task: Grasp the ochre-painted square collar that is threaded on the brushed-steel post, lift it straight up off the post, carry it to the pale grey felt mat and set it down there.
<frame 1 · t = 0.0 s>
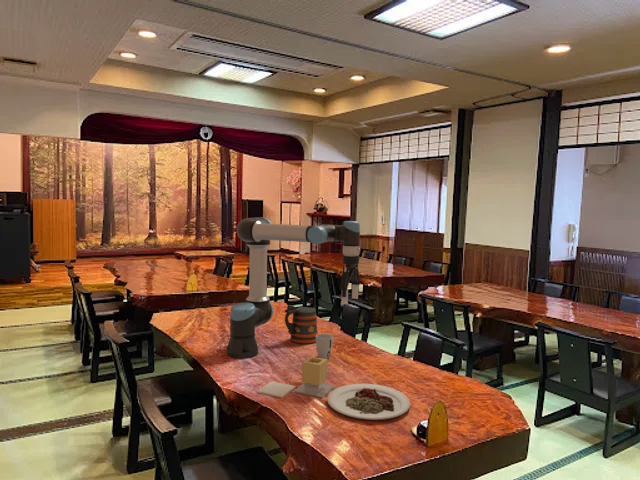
hand: (349, 301, 216), 28 cm above the table, fingers open, 13 cm apart
beer stein: (301, 341, 248), on the table
felt mat: (276, 390, 183), on the table
cup: (324, 357, 223), on the table
collar: (314, 380, 184), point 4 cm above the table, touching post stand
plated food: (368, 405, 172), on the table
post stand: (314, 389, 184), on the table
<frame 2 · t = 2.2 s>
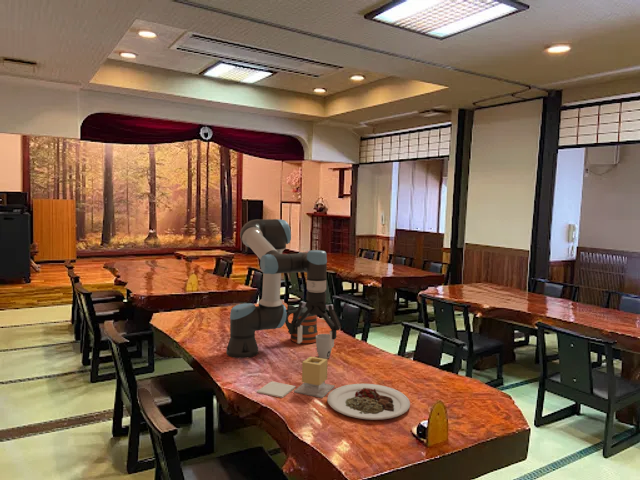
hand: (315, 344, 183), 18 cm above the table, fingers open, 13 cm apart
nothing on the table moved.
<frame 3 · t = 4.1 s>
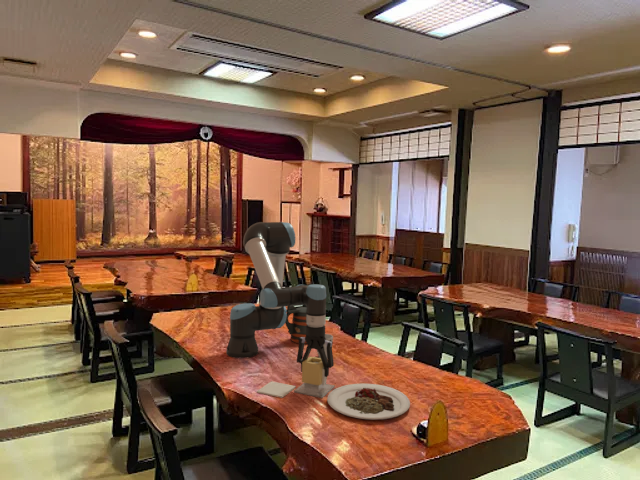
hand: (314, 382, 184), 3 cm above the table, fingers closed on collar, 7 cm apart
collar: (314, 380, 184), point 4 cm above the table, touching gripper, post stand
everything else where it was.
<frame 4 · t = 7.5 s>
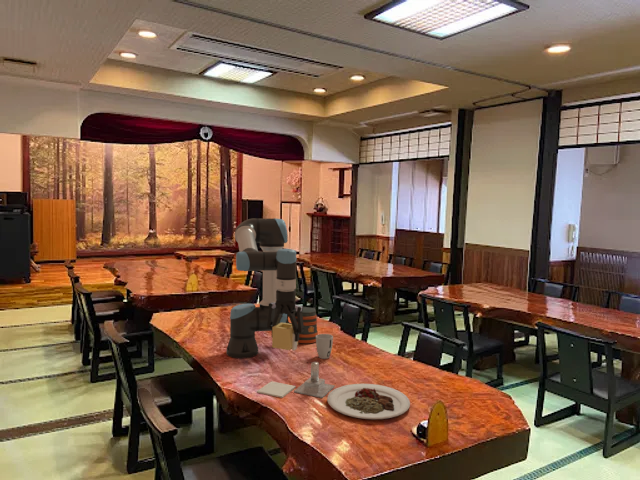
hand: (285, 347, 182), 17 cm above the table, fingers closed on collar, 7 cm apart
collar: (285, 346, 182), point 17 cm above the table, touching gripper
everything else where it was.
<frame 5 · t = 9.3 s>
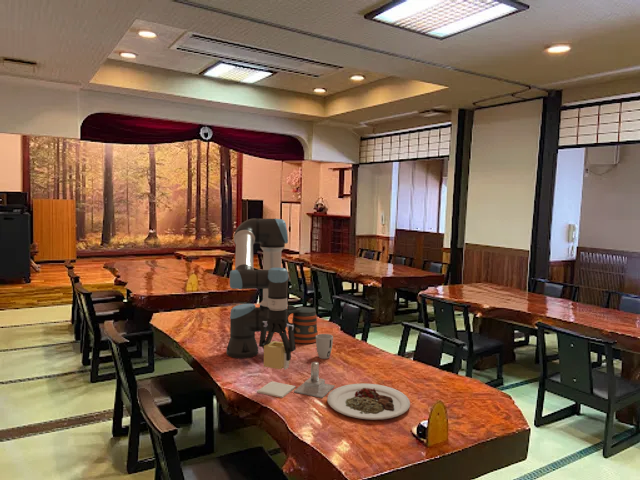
hand: (276, 366, 182), 9 cm above the table, fingers closed on collar, 7 cm apart
collar: (276, 364, 182), point 10 cm above the table, touching gripper
everything else where it was.
when the fingers open (2 cm above the table, at t = 11.1 s): collar drops 2 cm, resting on felt mat.
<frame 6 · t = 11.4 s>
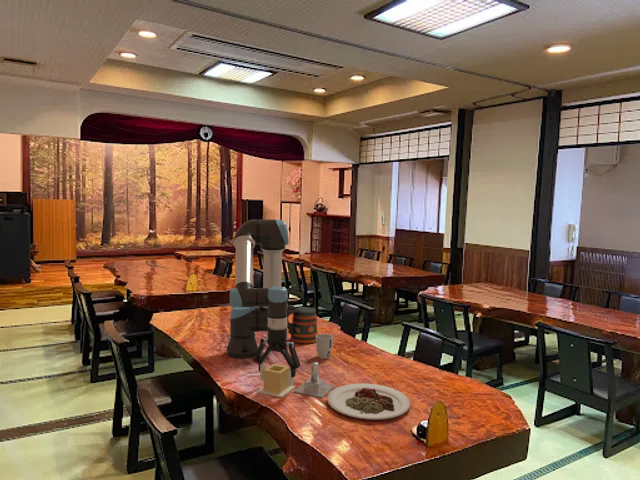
hand: (276, 382, 183), 3 cm above the table, fingers open, 12 cm apart
collar: (276, 388, 183), point 1 cm above the table, touching felt mat
everything else where it was.
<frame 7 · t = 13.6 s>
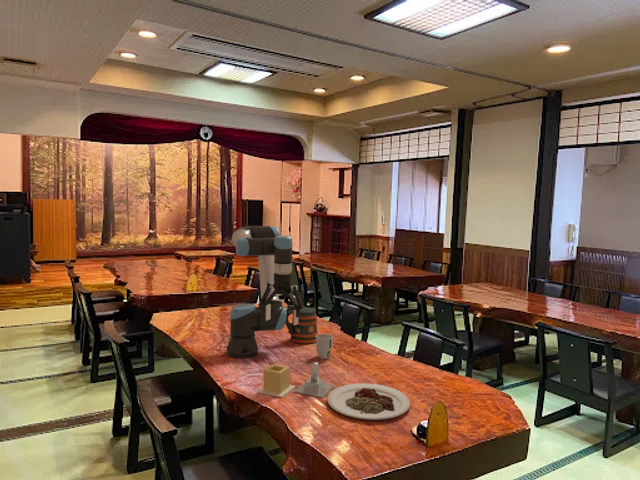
hand: (281, 322, 200), 22 cm above the table, fingers open, 13 cm apart
nothing on the table moved.
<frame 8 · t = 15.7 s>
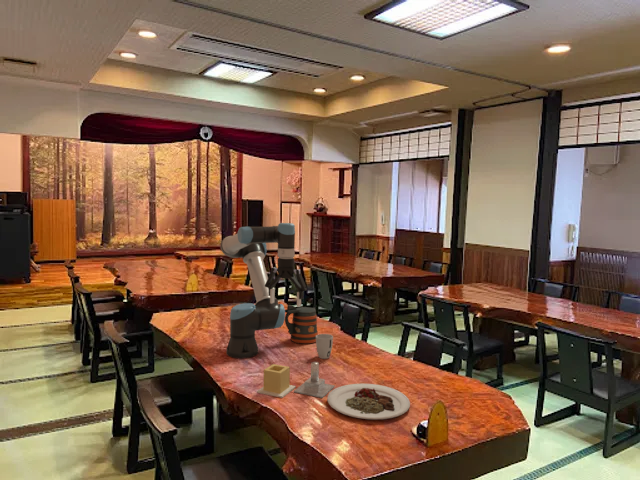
hand: (285, 304, 212), 27 cm above the table, fingers open, 13 cm apart
nothing on the table moved.
at the end: collar inside the target area on the felt mat (0.0 cm from its centre), point 0.6 cm above the felt mat's base; collar touching felt mat; collar tilted 0° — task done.
